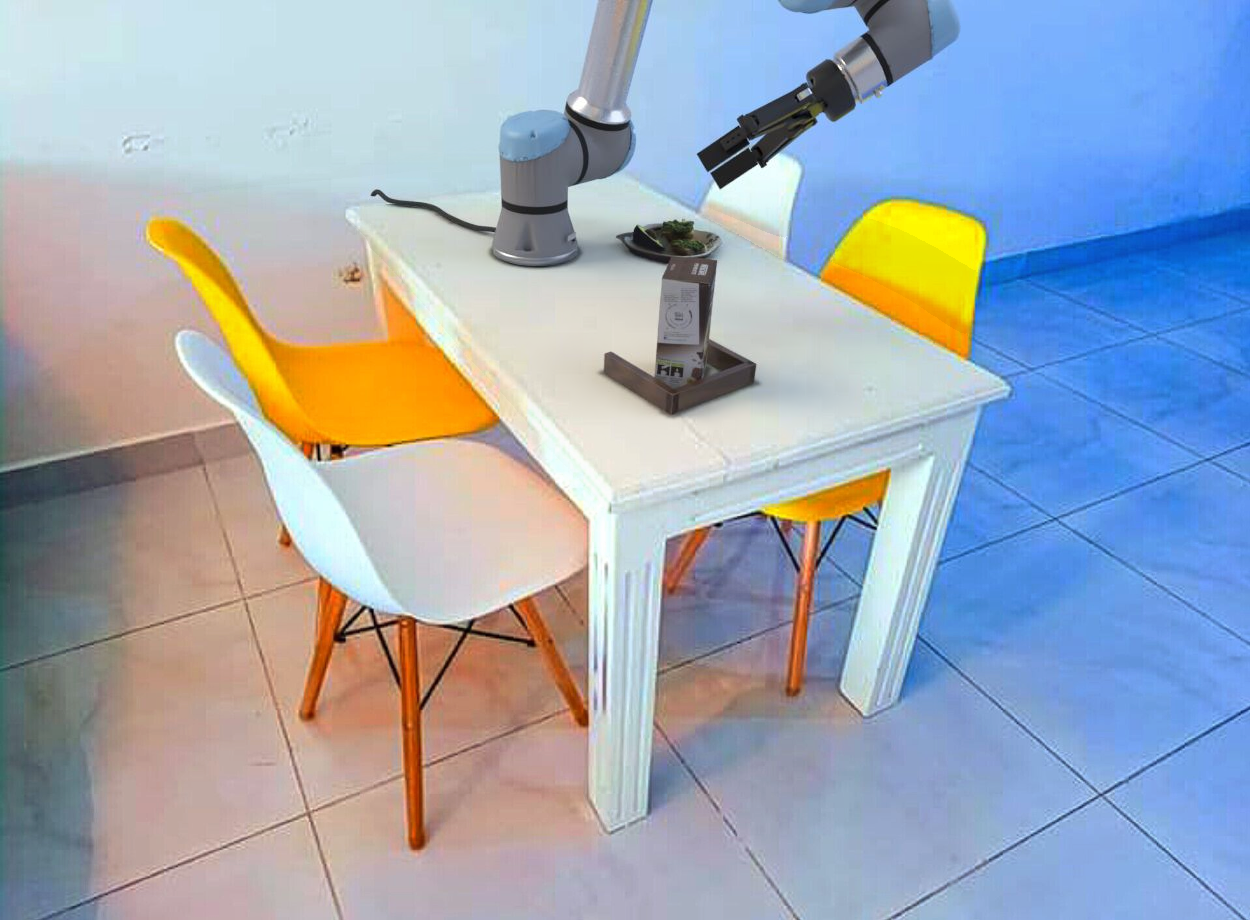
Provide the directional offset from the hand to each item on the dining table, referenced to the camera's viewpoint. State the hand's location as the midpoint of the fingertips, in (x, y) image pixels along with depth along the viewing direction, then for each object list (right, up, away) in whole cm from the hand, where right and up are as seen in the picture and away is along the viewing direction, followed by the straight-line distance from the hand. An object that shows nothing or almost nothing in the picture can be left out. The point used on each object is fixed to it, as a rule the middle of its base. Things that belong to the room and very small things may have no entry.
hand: (708, 172), depth 128 cm
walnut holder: (-5, -28, -1) cm, 29 cm away
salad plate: (-3, -1, +42) cm, 42 cm away
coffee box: (-4, -29, -1) cm, 29 cm away
